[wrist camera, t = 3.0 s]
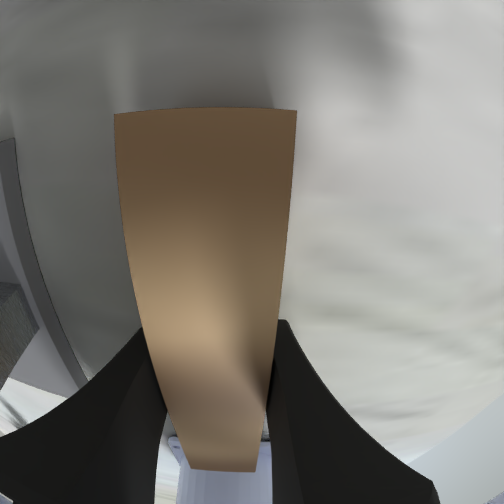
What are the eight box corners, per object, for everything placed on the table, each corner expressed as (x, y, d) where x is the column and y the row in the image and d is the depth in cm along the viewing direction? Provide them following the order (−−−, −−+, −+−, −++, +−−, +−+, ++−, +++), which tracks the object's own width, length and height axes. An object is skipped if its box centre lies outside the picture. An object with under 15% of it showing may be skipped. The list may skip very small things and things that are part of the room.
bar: (254, 407, 14) (255, 472, 11) (198, 404, 14) (191, 469, 11) (275, 110, 8) (296, 110, 4) (172, 110, 8) (114, 114, 4)
